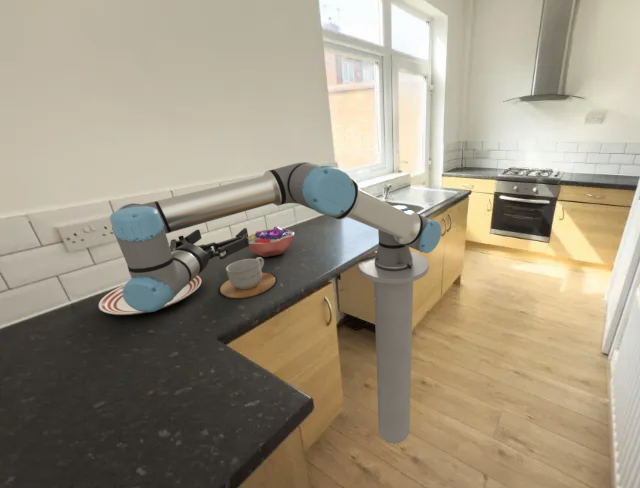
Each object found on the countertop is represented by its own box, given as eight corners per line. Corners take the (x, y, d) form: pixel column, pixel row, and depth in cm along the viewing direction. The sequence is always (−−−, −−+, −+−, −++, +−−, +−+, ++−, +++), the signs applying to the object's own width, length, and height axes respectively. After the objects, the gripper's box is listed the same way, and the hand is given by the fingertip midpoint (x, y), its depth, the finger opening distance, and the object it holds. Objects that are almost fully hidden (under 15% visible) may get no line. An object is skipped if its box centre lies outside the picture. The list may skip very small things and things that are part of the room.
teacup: (242, 296, 103) (237, 274, 100) (224, 287, 109) (218, 266, 106) (277, 279, 114) (274, 259, 110) (259, 271, 119) (255, 252, 116)
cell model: (242, 253, 137) (237, 228, 132) (287, 242, 148) (284, 219, 143) (254, 266, 124) (249, 239, 120) (302, 254, 135) (299, 229, 131)
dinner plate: (122, 286, 111) (119, 277, 110) (208, 273, 119) (206, 265, 118) (84, 331, 88) (79, 321, 86) (195, 312, 96) (192, 303, 94)
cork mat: (286, 279, 115) (286, 278, 114) (245, 303, 100) (245, 302, 100) (251, 269, 122) (250, 268, 122) (208, 290, 108) (208, 289, 108)
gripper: (134, 280, 75) (183, 246, 94) (241, 276, 76) (267, 243, 95) (123, 251, 72) (175, 222, 91) (235, 247, 73) (263, 219, 92)
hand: (222, 233), depth 93 cm, fingers open, 13 cm apart
